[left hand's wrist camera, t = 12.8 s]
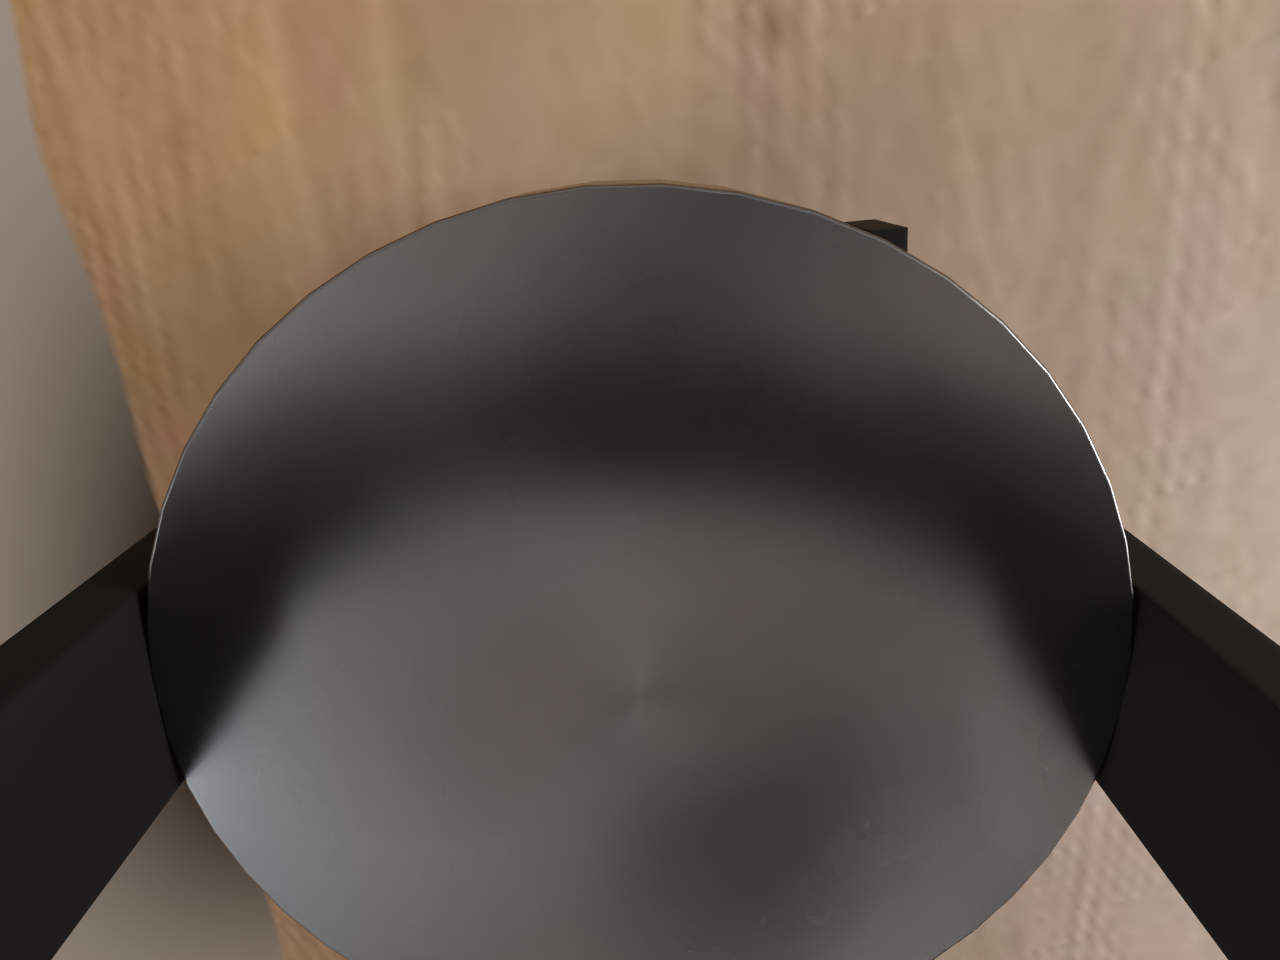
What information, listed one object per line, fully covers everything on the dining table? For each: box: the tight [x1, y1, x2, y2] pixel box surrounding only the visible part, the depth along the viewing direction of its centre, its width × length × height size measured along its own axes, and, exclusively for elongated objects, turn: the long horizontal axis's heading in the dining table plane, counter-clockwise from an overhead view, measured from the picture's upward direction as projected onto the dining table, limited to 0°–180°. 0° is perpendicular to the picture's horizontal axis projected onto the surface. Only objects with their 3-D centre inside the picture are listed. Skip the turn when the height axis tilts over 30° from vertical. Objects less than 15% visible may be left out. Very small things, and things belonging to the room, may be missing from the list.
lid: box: [146, 180, 1134, 960], centre depth 11 cm, size 12×12×2 cm
